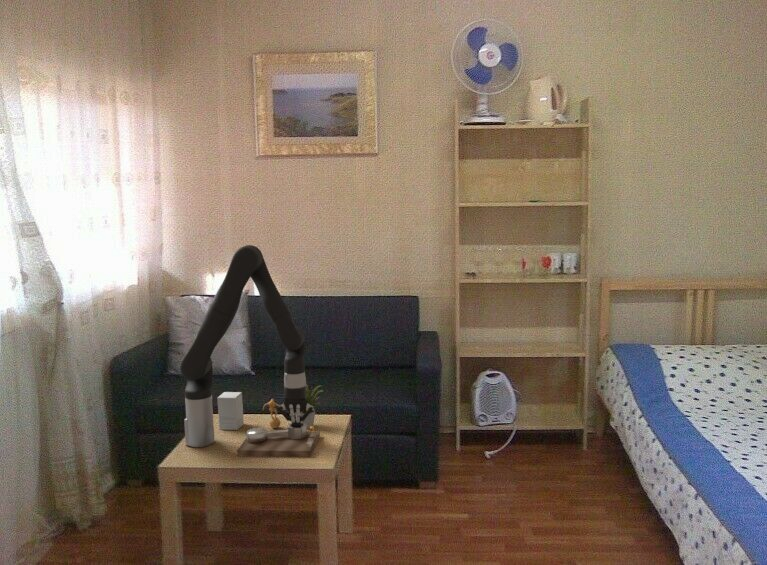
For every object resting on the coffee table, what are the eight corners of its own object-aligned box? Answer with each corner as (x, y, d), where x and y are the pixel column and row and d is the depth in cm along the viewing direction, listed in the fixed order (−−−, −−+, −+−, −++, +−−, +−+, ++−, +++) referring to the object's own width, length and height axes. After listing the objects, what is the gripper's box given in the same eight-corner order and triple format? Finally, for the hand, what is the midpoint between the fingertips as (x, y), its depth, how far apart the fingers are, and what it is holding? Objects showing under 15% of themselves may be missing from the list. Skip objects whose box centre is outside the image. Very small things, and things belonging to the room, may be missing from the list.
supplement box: (244, 423, 273) (242, 391, 271) (237, 430, 266) (235, 397, 264) (226, 423, 274) (224, 391, 272) (218, 429, 267) (216, 397, 265)
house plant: (334, 421, 273) (332, 380, 271) (321, 434, 260) (320, 391, 257) (299, 419, 277) (298, 378, 274) (285, 431, 264) (283, 388, 261)
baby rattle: (247, 443, 245) (246, 432, 245) (247, 436, 252) (246, 425, 252) (315, 437, 250) (315, 426, 249) (313, 430, 257) (313, 420, 256)
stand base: (237, 455, 241) (236, 446, 240) (252, 435, 259) (251, 427, 259) (310, 456, 239) (309, 447, 238) (319, 436, 257) (319, 427, 257)
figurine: (287, 426, 268) (286, 396, 267) (282, 432, 263) (281, 400, 261) (266, 425, 270) (265, 395, 268) (261, 431, 264) (259, 400, 262)
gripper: (273, 387, 246) (275, 435, 248) (311, 387, 244) (313, 435, 247) (278, 381, 253) (280, 427, 256) (315, 381, 252) (316, 428, 255)
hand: (296, 431), depth 251 cm, fingers closed
